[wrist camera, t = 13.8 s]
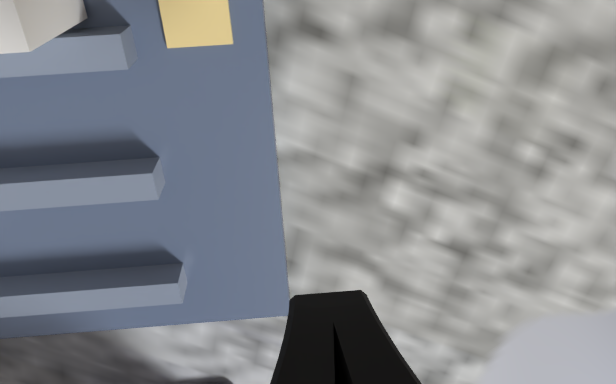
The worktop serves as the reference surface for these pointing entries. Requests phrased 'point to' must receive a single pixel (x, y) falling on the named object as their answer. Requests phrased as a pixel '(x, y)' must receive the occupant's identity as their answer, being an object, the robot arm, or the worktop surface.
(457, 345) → the worktop surface
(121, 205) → the switch board
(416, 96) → the worktop surface
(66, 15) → the tab
